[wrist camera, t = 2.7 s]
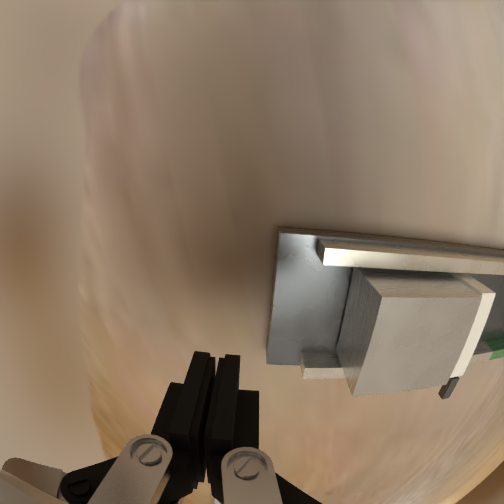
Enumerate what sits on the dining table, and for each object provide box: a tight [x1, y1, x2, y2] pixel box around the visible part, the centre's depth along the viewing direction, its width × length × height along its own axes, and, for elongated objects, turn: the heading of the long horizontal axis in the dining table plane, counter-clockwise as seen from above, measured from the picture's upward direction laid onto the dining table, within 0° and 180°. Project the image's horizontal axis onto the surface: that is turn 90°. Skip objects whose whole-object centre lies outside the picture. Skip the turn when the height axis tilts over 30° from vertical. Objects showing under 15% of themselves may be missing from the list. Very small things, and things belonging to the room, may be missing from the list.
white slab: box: [438, 272, 496, 399], centre depth 14 cm, size 7×1×4 cm, turn 177°
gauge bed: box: [266, 227, 504, 379], centre depth 13 cm, size 8×28×8 cm, turn 87°
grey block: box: [336, 267, 482, 396], centre depth 13 cm, size 5×6×4 cm
